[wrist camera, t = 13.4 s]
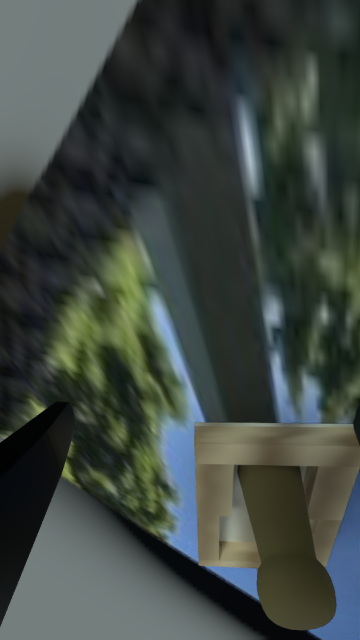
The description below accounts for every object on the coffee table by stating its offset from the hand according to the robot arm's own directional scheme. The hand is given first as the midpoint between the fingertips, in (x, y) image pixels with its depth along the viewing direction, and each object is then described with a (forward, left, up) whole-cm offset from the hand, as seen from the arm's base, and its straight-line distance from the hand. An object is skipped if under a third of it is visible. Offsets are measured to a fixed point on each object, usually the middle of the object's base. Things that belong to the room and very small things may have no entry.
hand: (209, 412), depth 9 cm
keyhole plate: (-6, +24, -13) cm, 28 cm away
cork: (-6, +20, -13) cm, 24 cm away
